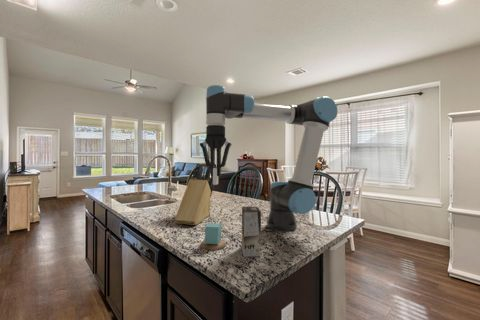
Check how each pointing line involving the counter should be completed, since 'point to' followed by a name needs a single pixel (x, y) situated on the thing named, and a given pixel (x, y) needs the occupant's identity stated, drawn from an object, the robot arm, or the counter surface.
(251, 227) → the coffee box
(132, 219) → the counter surface
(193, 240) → the counter surface
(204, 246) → the post
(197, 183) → the knife block
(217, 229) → the teal rectangular block
